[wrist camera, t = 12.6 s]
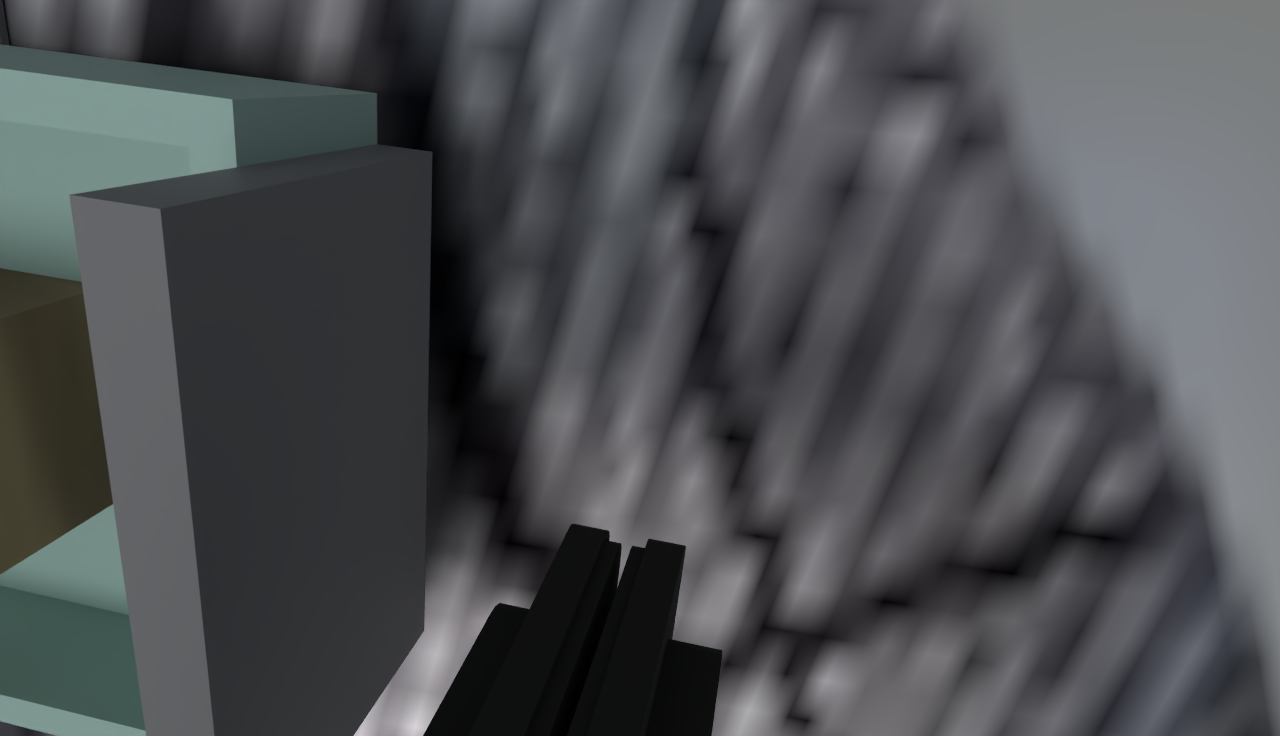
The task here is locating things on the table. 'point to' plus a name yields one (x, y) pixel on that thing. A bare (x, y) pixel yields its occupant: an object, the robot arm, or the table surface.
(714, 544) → the table surface
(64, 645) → the mint green cubby
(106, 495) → the walnut block
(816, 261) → the table surface
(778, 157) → the table surface
